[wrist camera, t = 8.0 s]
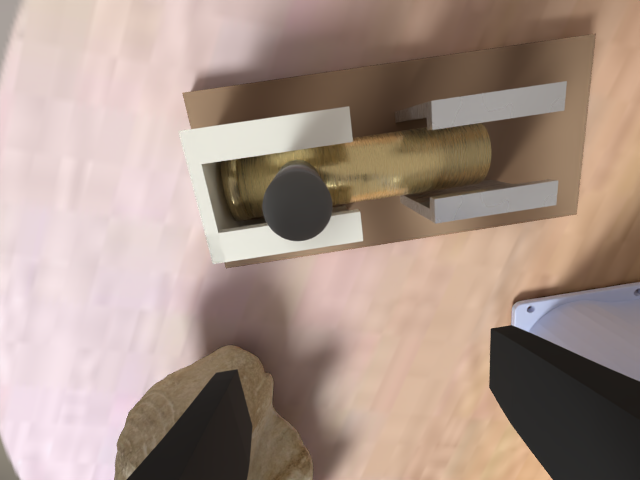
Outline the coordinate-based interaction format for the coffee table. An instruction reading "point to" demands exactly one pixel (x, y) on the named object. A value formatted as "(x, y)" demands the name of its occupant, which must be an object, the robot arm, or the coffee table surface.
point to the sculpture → (180, 391)
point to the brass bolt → (351, 175)
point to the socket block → (254, 140)
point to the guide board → (443, 112)
